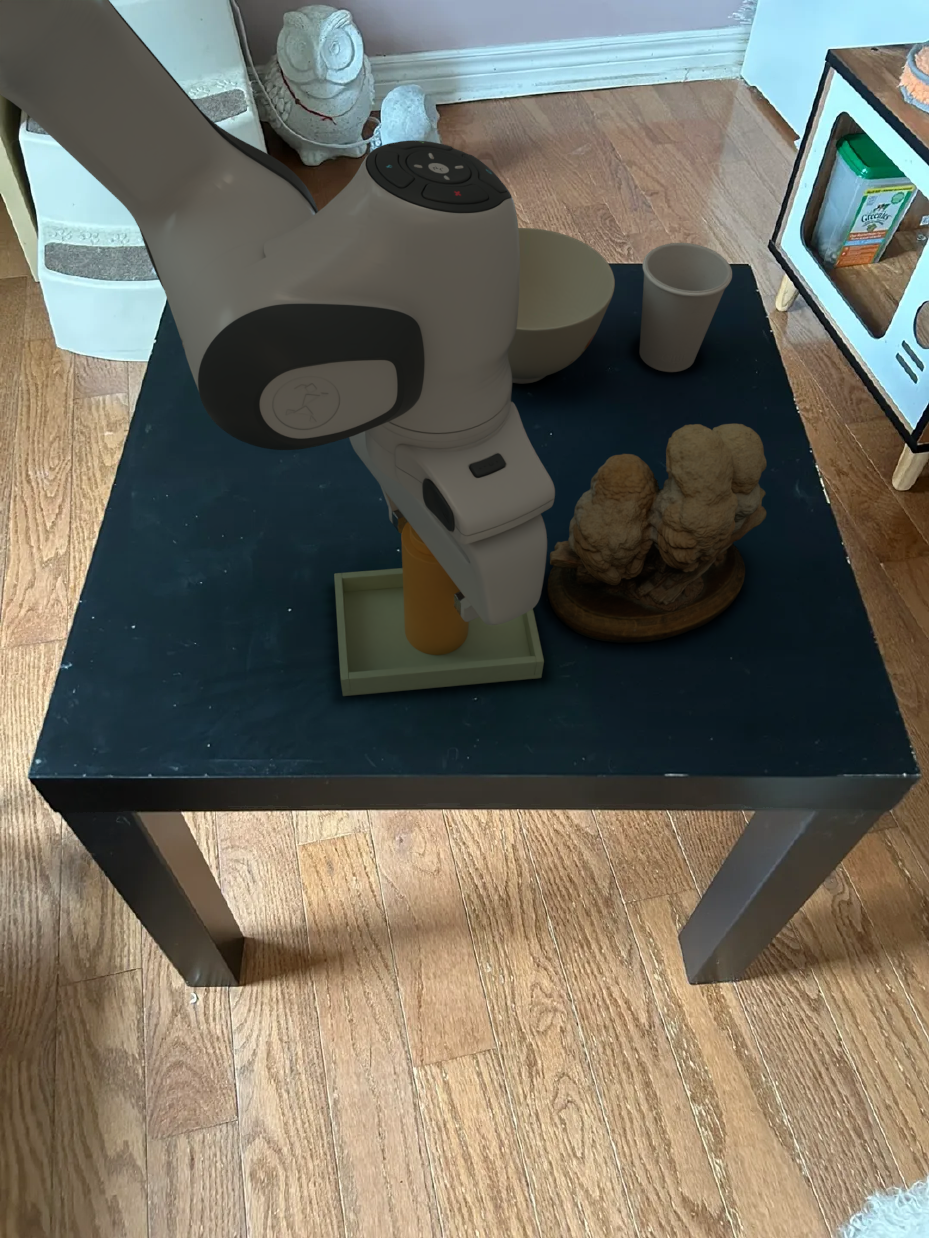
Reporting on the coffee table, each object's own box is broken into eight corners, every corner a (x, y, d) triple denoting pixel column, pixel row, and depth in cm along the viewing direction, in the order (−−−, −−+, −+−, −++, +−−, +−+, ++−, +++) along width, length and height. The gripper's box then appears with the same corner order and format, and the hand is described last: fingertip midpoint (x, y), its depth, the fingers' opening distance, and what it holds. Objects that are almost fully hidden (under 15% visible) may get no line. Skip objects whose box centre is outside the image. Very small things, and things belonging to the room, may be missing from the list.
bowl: (547, 440, 90) (558, 352, 82) (408, 375, 95) (406, 287, 87) (627, 352, 98) (645, 265, 90) (496, 297, 103) (501, 209, 95)
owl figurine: (705, 504, 86) (756, 346, 72) (779, 602, 79) (852, 448, 66) (520, 561, 81) (539, 403, 67) (584, 669, 75) (618, 519, 61)
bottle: (424, 665, 74) (423, 528, 62) (393, 620, 76) (386, 479, 64) (480, 639, 76) (489, 500, 63) (447, 595, 78) (450, 454, 66)
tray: (342, 696, 73) (340, 679, 71) (336, 591, 79) (334, 573, 77) (541, 678, 74) (544, 661, 72) (520, 576, 80) (522, 558, 78)
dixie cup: (623, 327, 101) (640, 239, 93) (703, 330, 101) (727, 243, 93) (628, 378, 96) (646, 291, 88) (712, 383, 96) (738, 295, 88)
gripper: (315, 342, 63) (332, 492, 74) (478, 548, 53) (470, 686, 64) (400, 314, 65) (404, 464, 76) (573, 506, 55) (549, 647, 66)
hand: (435, 566), depth 70 cm, fingers open, 8 cm apart
